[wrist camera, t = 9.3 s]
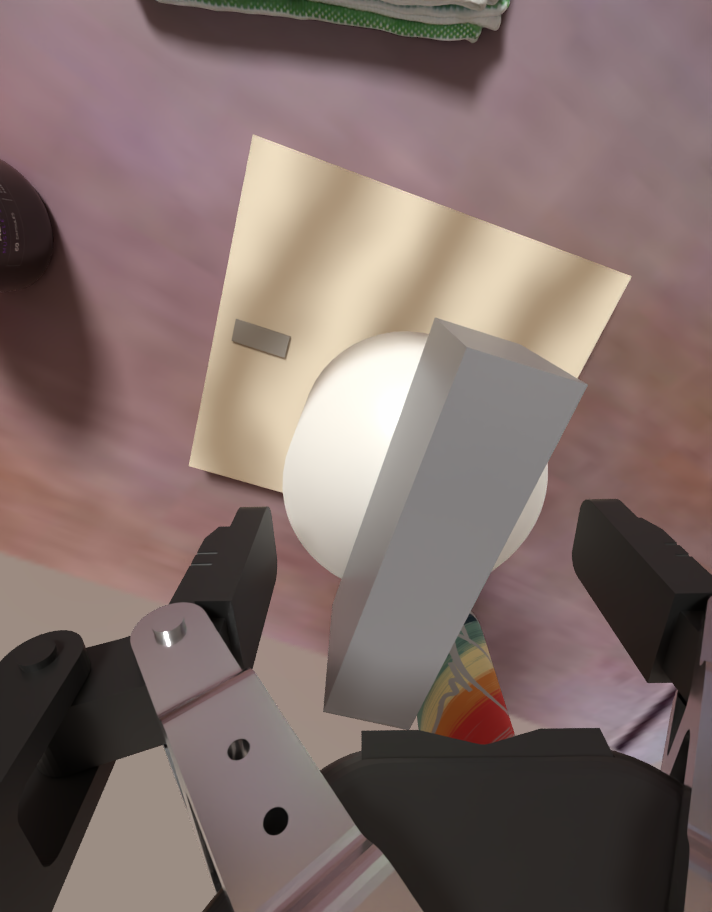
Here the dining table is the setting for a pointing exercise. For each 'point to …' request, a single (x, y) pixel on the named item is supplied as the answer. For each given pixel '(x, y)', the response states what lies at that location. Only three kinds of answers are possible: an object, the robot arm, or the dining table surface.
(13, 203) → the supplement bottle
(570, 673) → the dining table surface
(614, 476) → the dining table surface
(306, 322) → the post board
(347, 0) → the dish towel
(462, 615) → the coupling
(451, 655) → the lotion bottle
